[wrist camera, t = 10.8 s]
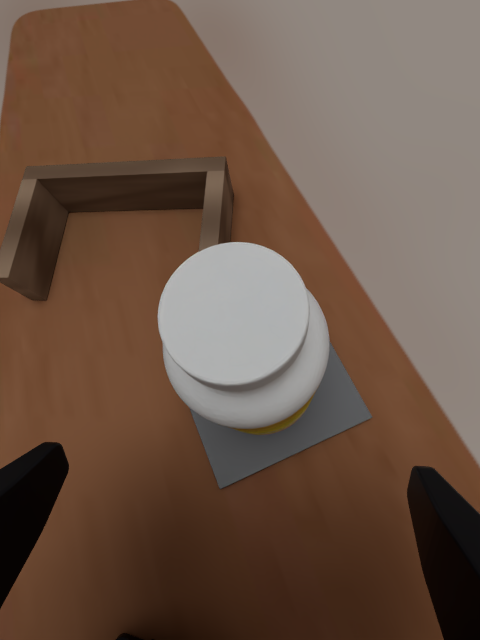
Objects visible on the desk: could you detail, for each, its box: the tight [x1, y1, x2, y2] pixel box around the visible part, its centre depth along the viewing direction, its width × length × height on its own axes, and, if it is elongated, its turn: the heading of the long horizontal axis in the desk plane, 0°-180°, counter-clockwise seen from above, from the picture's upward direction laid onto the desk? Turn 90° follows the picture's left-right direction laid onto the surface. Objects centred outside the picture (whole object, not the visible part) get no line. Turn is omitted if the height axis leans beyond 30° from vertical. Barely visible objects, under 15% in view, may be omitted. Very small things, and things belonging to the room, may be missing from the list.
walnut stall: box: [0, 157, 234, 300], centre depth 26 cm, size 9×15×4 cm, turn 87°
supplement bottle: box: [158, 242, 330, 435], centre depth 17 cm, size 7×7×13 cm
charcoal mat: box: [189, 341, 372, 489], centre depth 23 cm, size 10×10×1 cm
